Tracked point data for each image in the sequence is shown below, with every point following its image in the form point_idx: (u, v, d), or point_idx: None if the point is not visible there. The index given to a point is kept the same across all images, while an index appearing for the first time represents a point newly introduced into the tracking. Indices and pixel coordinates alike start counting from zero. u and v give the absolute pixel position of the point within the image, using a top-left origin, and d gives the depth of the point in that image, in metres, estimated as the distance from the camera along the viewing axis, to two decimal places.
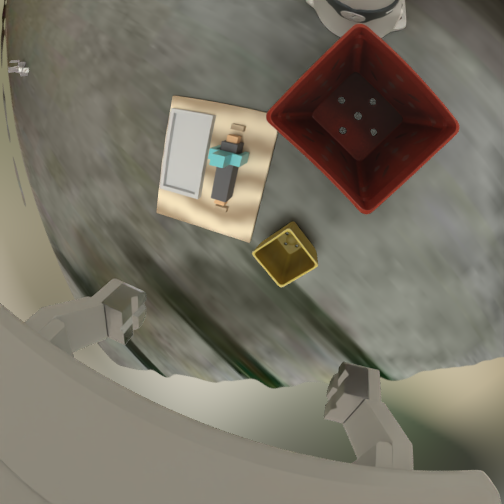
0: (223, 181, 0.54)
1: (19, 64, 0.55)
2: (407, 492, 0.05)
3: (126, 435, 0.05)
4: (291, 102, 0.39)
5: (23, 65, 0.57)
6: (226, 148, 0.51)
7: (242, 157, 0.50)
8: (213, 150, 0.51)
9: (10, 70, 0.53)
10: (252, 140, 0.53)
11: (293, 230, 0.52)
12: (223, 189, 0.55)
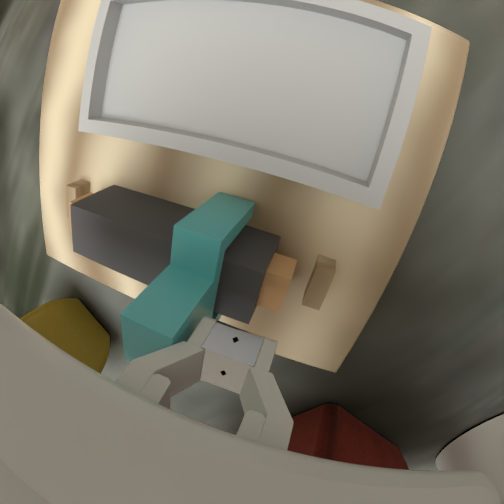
0: (121, 255, 0.15)
1: None
2: (407, 492, 0.05)
3: (125, 435, 0.05)
4: None
5: None
6: (236, 285, 0.13)
7: None
8: (212, 256, 0.12)
9: None
10: None
11: None
12: (100, 251, 0.15)
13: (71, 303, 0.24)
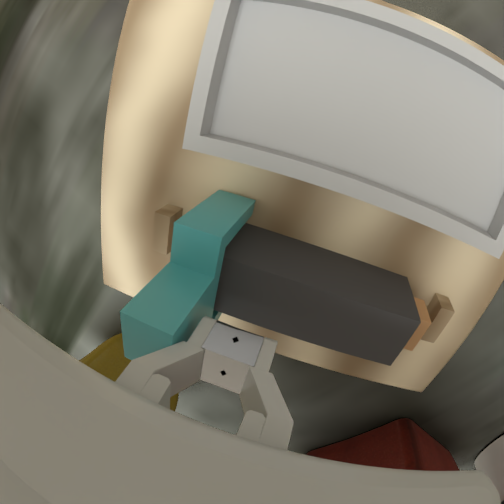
0: (259, 305, 0.14)
1: None
2: (407, 492, 0.05)
3: (125, 435, 0.05)
4: None
5: None
6: (391, 334, 0.12)
7: None
8: (212, 253, 0.12)
9: None
10: None
11: None
12: (227, 299, 0.14)
13: None
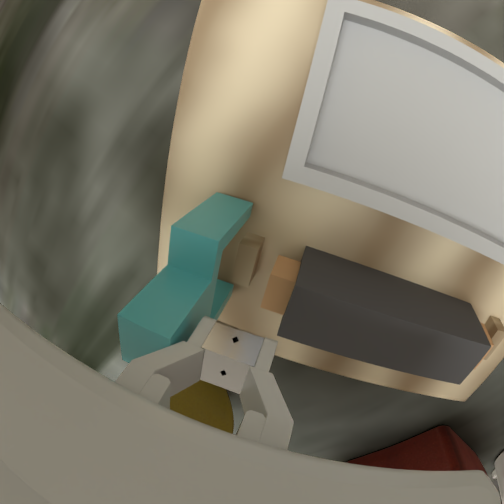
0: (361, 341, 0.13)
1: None
2: (407, 492, 0.05)
3: (126, 435, 0.05)
4: None
5: None
6: (467, 358, 0.12)
7: None
8: (209, 256, 0.12)
9: None
10: None
11: None
12: (329, 337, 0.13)
13: None
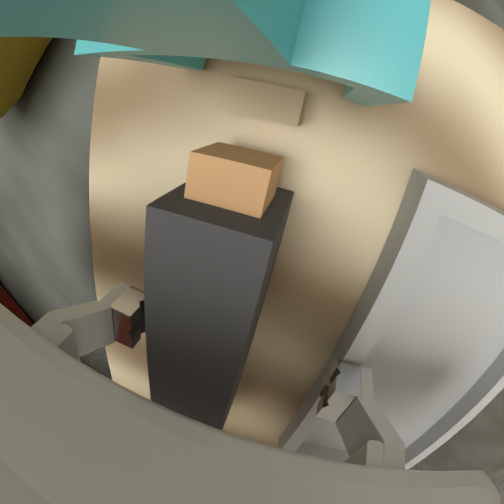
0: (180, 339, 0.08)
1: None
2: (407, 492, 0.05)
3: (126, 434, 0.05)
4: None
5: None
6: None
7: None
8: (365, 68, 0.03)
9: None
10: None
11: None
12: (172, 297, 0.08)
13: None
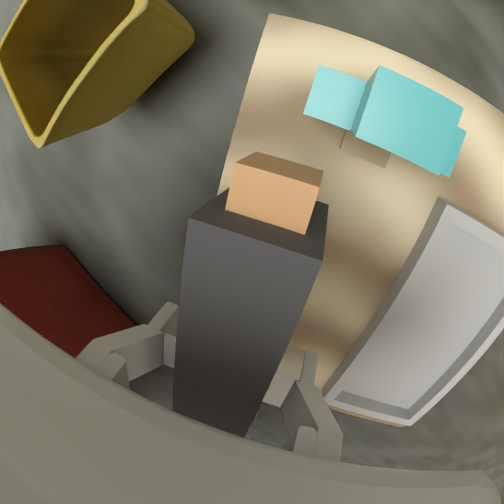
0: (213, 353, 0.08)
1: None
2: (407, 492, 0.05)
3: (125, 434, 0.05)
4: None
5: None
6: None
7: None
8: None
9: None
10: None
11: None
12: (210, 311, 0.08)
13: (187, 48, 0.14)
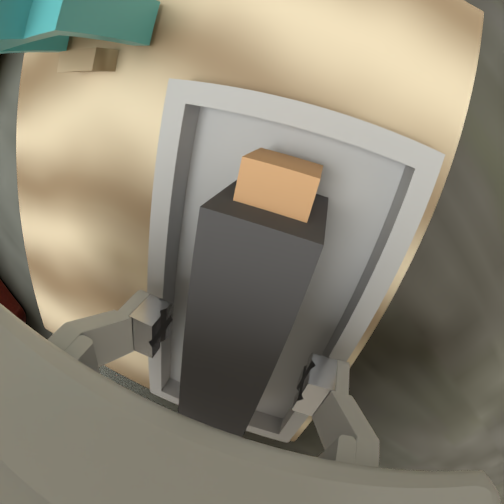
0: (220, 337, 0.09)
1: None
2: (407, 492, 0.05)
3: (125, 435, 0.05)
4: None
5: None
6: None
7: None
8: (42, 26, 0.05)
9: None
10: (64, 294, 0.18)
11: None
12: (218, 295, 0.08)
13: None
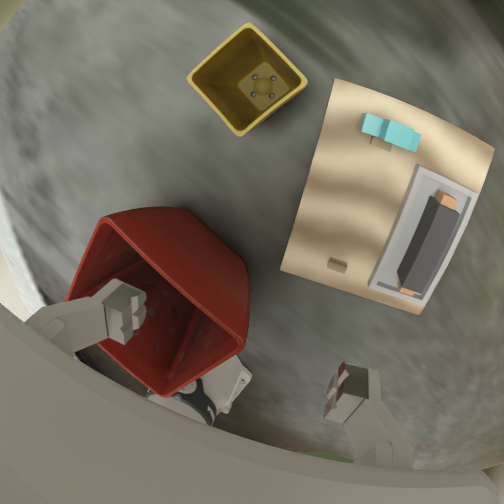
0: (434, 238, 0.30)
1: None
2: (407, 492, 0.05)
3: (126, 435, 0.05)
4: None
5: None
6: (418, 284, 0.33)
7: (361, 128, 0.27)
8: (409, 147, 0.26)
9: None
10: (320, 243, 0.38)
11: None
12: (438, 226, 0.29)
13: None
